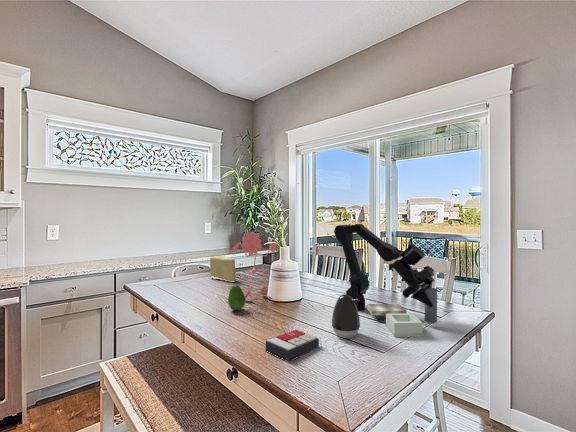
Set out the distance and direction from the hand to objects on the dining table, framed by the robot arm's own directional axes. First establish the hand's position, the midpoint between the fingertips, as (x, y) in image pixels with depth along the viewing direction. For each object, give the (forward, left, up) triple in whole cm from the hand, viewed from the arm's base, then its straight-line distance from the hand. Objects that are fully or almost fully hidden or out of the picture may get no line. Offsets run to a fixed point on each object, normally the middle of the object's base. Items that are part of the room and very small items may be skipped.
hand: (434, 304), depth 123 cm
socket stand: (-13, -3, -9) cm, 16 cm away
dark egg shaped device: (-35, -6, -9) cm, 37 cm away
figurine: (-75, +44, -9) cm, 87 cm away
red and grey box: (-55, -16, -9) cm, 58 cm away
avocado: (-80, +24, -9) cm, 84 cm away
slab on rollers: (-15, +12, -9) cm, 21 cm away
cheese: (-98, +85, -9) cm, 130 cm away
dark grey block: (-1, +1, -7) cm, 7 cm away
